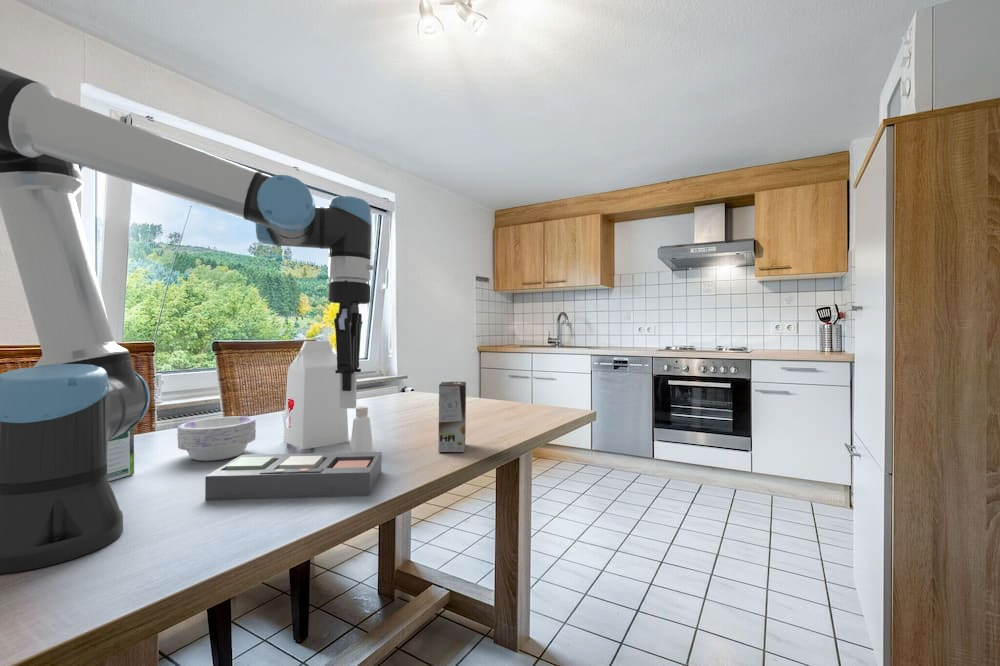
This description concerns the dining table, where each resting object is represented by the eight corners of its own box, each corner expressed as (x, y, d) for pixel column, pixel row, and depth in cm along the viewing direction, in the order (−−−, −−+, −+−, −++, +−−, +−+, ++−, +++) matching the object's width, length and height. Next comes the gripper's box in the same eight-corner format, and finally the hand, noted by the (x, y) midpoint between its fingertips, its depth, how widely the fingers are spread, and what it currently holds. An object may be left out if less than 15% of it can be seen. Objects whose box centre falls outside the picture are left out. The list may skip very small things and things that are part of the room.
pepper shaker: (344, 456, 107) (344, 408, 107) (358, 450, 112) (358, 404, 112) (365, 458, 105) (365, 409, 105) (378, 452, 111) (378, 405, 111)
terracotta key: (365, 481, 85) (365, 469, 85) (331, 481, 85) (331, 469, 85) (370, 471, 91) (370, 460, 91) (338, 472, 91) (338, 460, 91)
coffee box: (465, 453, 111) (465, 385, 111) (437, 453, 110) (438, 385, 110) (465, 444, 120) (466, 381, 120) (440, 444, 119) (441, 381, 119)
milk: (302, 449, 113) (303, 341, 113) (283, 441, 121) (284, 340, 121) (348, 441, 122) (349, 341, 122) (328, 434, 130) (328, 340, 130)
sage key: (261, 477, 84) (261, 465, 84) (226, 478, 83) (226, 466, 83) (274, 468, 90) (274, 456, 90) (241, 468, 89) (241, 457, 89)
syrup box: (105, 483, 87) (105, 405, 87) (79, 481, 88) (80, 404, 88) (134, 474, 92) (135, 401, 92) (110, 472, 94) (111, 399, 94)
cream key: (313, 476, 85) (314, 464, 85) (279, 477, 84) (279, 465, 84) (322, 467, 90) (322, 455, 90) (290, 467, 90) (290, 456, 90)
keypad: (369, 495, 82) (369, 470, 82) (205, 500, 79) (205, 474, 79) (381, 471, 96) (381, 450, 96) (241, 474, 93) (242, 453, 93)
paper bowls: (171, 455, 107) (172, 420, 107) (245, 444, 117) (245, 413, 117) (183, 470, 96) (184, 431, 96) (264, 457, 106) (264, 422, 106)
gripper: (363, 278, 82) (361, 413, 82) (375, 286, 95) (374, 402, 95) (319, 277, 81) (317, 413, 81) (337, 285, 94) (335, 402, 94)
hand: (347, 407), depth 88 cm, fingers closed
